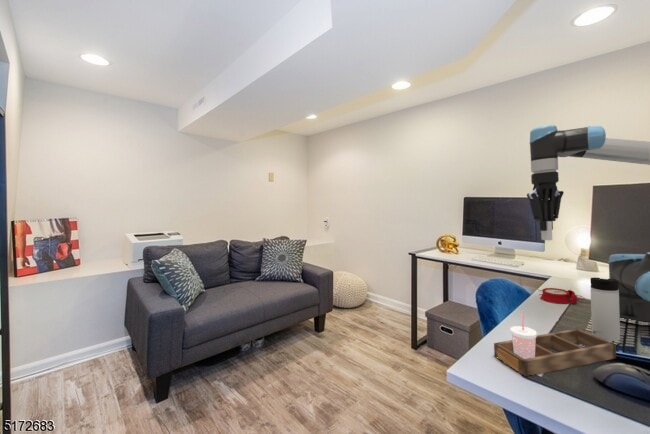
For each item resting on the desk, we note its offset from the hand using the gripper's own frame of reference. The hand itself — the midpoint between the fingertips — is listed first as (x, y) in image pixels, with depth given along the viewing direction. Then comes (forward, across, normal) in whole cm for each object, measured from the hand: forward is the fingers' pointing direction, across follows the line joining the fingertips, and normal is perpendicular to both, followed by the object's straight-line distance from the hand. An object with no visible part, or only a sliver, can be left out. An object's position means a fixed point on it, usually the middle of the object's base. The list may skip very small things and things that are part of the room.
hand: (546, 239), depth 102 cm
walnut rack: (+30, +18, +17) cm, 39 cm away
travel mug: (+31, -4, +14) cm, 34 cm away
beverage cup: (+30, +28, +17) cm, 44 cm away
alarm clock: (+31, -26, -18) cm, 44 cm away
